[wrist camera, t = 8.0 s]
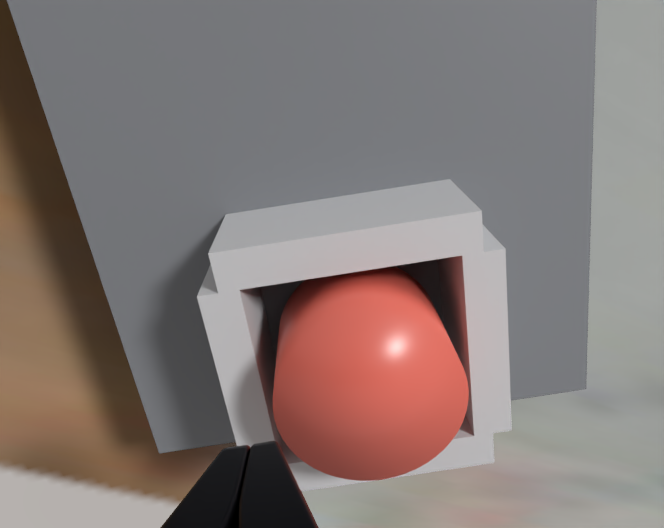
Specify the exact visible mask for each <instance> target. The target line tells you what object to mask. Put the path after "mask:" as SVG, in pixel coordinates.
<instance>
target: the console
mask: <svg viewBox="0 0 664 528" xmlns="http://www.w3.org/2000/svg"><path fill="white" fill-rule="evenodd" d="M7 2H8V5H9V8H10V11H11V14H12V17H13V20H14V23H15V26H16V29H17V32H18V35H19V38H20V41H21V44H22V47H23V50H24V53H25V56H26V59H27V62H28V65H29V68H30V71H31V74H32V77H33V80H34V83H35V86H36V89H37V92H38V95H39V98H40V101H41V103H42V106H43V109H44V112H45V115H46V118H47V121H48V124H49V127H50V130H51V133H52V136H53V139H54V142H55V145H56V148H57V151H58V154H59V157H60V160H61V163H62V166H63V169H64V172H65V175H66V178H67V181H68V184H69V187H70V190H71V193H72V196H73V199H74V202H75V205H76V208H77V211H78V213H79V216H80V219H81V222H82V225H83V228H84V231H85V234H86V237H87V240H88V243H89V246H90V249H91V252H92V255H93V258H94V261H95V264H96V267H97V270H98V273H99V276H100V279H101V282H102V285H103V288H104V291H105V294H106V297H107V300H108V303H109V306H110V309H111V312H112V315H113V318H114V321H115V323H116V326H117V329H118V332H119V335H120V338H121V341H122V344H123V347H124V350H125V353H126V356H127V359H128V362H129V365H130V368H131V371H132V374H133V377H134V380H135V383H136V386H137V389H138V392H139V395H140V398H141V401H142V404H143V407H144V410H145V413H146V416H147V419H148V422H149V425H150V428H151V431H152V433H153V436H154V439H155V442H156V445H157V448H158V451H159V453H166V452H172V451H179V450H186V449H192V448H199V447H205V446H212V445H219V444H225V443H232V442H236V445H237V446H241V445H248V446H250V447H251V446H252V445H253V444H255V443H261V442H268V441H276V442H278V444H279V446H280V448H281V450H282V452H283V454H284V456H285V458H286V460H287V462H288V465H289V467H290V469H291V471H292V473H293V475H294V477H295V479H296V481H297V484H298V486H299V488H300V490H301V492H302V491H308V490H315V489H322V488H328V487H335V486H342V485H348V484H355V483H362V482H369V481H358V480H348V479H343V478H338V477H334V476H331V475H328V474H325V473H323V472H321V471H319V470H317V469H314V468H313V467H311V466H309V465H308V464H306V463H305V462H303V461H302V460H301V459H300V458H299V457H297V456H296V455H295V454H294V453H293V452H292V451H291V450H290V449H289V447H288V446H287V445H286V443H285V442H284V440H283V439H282V437H281V435H280V433H279V431H278V429H277V426H276V423H275V420H274V414H273V388H274V377H275V366H276V355H277V345H278V334H279V325H280V319H281V315H282V312H283V309H284V307H285V305H286V303H287V301H288V299H289V298H290V296H291V295H292V293H293V292H294V291H295V290H296V288H297V287H298V286H299V285H300V284H301V283H302V282H303V281H305V280H307V279H314V278H320V277H327V276H333V275H340V274H346V273H352V272H359V271H365V270H372V269H378V268H385V267H391V266H395V267H397V268H399V269H401V270H403V271H405V272H406V273H408V274H409V275H411V276H412V277H413V278H414V279H416V280H417V281H418V282H419V283H420V284H421V285H422V287H423V288H424V289H425V290H426V292H427V293H428V295H429V297H430V299H431V301H432V303H433V305H434V307H435V309H436V311H437V313H438V315H439V317H440V319H441V321H442V323H443V326H444V328H445V330H446V332H447V334H448V336H449V338H450V340H451V342H452V344H453V347H454V349H455V351H456V353H457V355H458V357H459V359H460V361H461V363H462V366H463V368H464V371H465V374H466V377H467V382H468V389H469V398H468V406H467V411H466V414H465V417H464V420H463V423H462V425H461V427H460V429H459V431H458V432H457V434H456V435H455V437H454V438H453V440H452V441H451V442H450V443H449V444H448V446H447V447H446V448H445V449H444V450H443V451H442V452H441V453H439V454H438V455H437V456H436V457H435V458H433V459H432V460H431V461H429V462H428V463H426V464H424V465H423V466H421V467H419V468H417V469H415V470H413V471H410V472H408V473H406V474H403V475H399V476H396V477H402V476H409V475H416V474H422V473H429V472H436V471H442V470H449V469H456V468H463V467H469V466H476V465H483V464H489V463H494V443H493V433H498V432H505V431H511V430H512V423H511V400H517V399H524V398H530V397H537V396H544V395H550V394H557V393H564V392H570V391H577V390H583V389H586V375H587V338H588V301H589V263H590V226H591V189H592V152H593V115H594V78H595V41H596V4H597V0H7ZM392 478H395V477H392ZM387 479H389V478H387ZM372 481H375V480H372Z"/></svg>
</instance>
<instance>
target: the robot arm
mask: <svg viewBox="0 0 664 528" xmlns="http://www.w3.org/2000/svg"><path fill="white" fill-rule="evenodd" d="M161 528H318V526H317V524H316V522H315V520H314V517H313V515H312V513H311V511H310V509H309V507H308V505H307V503H306V501H305V498H304V496H303V494H302V492H301V490H300V488H299V486H298V484H297V481H296V479H295V477H294V475H293V473H292V471H291V469H290V467H289V465H288V462H287V460H286V458H285V456H284V454H283V452H282V450H281V448H280V446H279V444H278V442H276V441H268V442H261V443H255V444H253V445H252V446H251V447H250V446H248V445H241V446H235V447H228V448H225V449H223V450H222V451H221V452H220V453H219V455H218V456H217V457H216V458H215V460H214V461H213V462H212V463H211V465H210V466H209V467H208V469H207V470H206V471H205V472H204V474H203V475H202V476H201V477H200V479H199V480H198V481H197V482H196V484H195V485H194V486H193V487H192V489H191V490H190V491H189V493H188V494H187V495H186V496H185V498H184V499H183V500H182V501H181V503H180V504H179V505H178V506H177V508H176V509H175V510H174V512H173V513H172V514H171V515H170V517H169V518H168V519H167V520H166V522H165V523H164V524H163V525H162V527H161Z"/></svg>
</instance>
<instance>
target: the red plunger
mask: <svg viewBox="0 0 664 528" xmlns="http://www.w3.org/2000/svg"><path fill="white" fill-rule="evenodd" d="M468 398H469V389H468V382H467V377H466V374H465V371H464V368H463V366H462V363H461V361H460V359H459V357H458V355H457V353H456V351H455V349H454V347H453V344H452V342H451V340H450V338H449V336H448V334H447V332H446V330H445V328H444V326H443V323H442V321H441V319H440V317H439V315H438V313H437V311H436V309H435V307H434V305H433V303H432V301H431V299H430V297H429V295H428V293H427V292H426V290H425V289H424V288H423V287H422V285H421V284H420V283H419V282H418V281H417V280H416V279H414V278H413V277H412V276H411V275H409V274H408V273H406V272H405V271H403V270H401V269H399V268H397V267H395V266H391V267H385V268H378V269H372V270H365V271H359V272H352V273H346V274H340V275H333V276H327V277H320V278H314V279H307V280H305V281H303V282H302V283H301V284H300V285H299V286H298V287H297V288H296V290H295V291H294V292H293V293H292V295H291V296H290V298H289V299H288V301H287V303H286V305H285V307H284V309H283V312H282V315H281V319H280V325H279V334H278V345H277V355H276V366H275V377H274V388H273V414H274V420H275V423H276V426H277V429H278V431H279V433H280V435H281V437H282V439H283V440H284V442H285V443H286V445H287V446H288V447H289V449H290V450H291V451H292V452H293V453H294V454H295V455H296V456H297V457H299V458H300V459H301V460H302V461H303V462H305V463H306V464H308V465H309V466H311V467H313V468H314V469H317V470H319V471H321V472H323V473H325V474H328V475H331V476H334V477H338V478H343V479H348V480H358V481H372V480H382V479H387V478H392V477H396V476H399V475H403V474H406V473H408V472H410V471H413V470H415V469H417V468H419V467H421V466H423V465H424V464H426V463H428V462H429V461H431V460H432V459H433V458H435V457H436V456H437V455H438V454H439V453H441V452H442V451H443V450H444V449H445V448H446V447H447V446H448V444H449V443H450V442H451V441H452V440H453V438H454V437H455V435H456V434H457V432H458V431H459V429H460V427H461V425H462V423H463V420H464V417H465V414H466V411H467V406H468Z"/></svg>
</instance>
